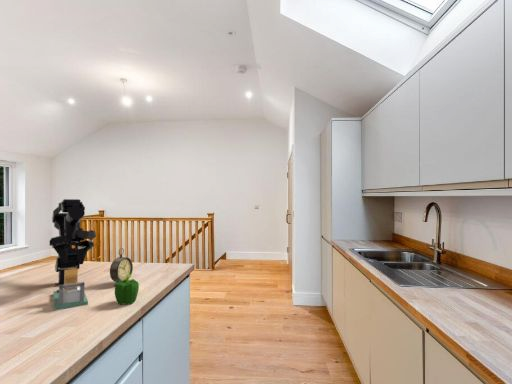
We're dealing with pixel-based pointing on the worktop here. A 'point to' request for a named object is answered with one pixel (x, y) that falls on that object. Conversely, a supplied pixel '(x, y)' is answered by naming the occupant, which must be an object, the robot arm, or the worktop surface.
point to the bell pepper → (126, 291)
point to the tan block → (71, 278)
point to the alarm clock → (121, 268)
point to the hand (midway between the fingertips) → (73, 263)
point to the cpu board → (67, 305)
